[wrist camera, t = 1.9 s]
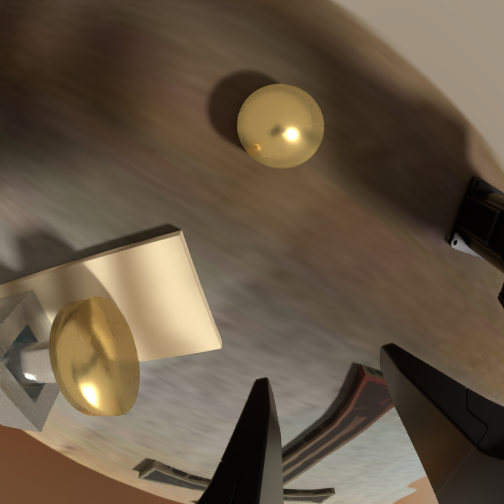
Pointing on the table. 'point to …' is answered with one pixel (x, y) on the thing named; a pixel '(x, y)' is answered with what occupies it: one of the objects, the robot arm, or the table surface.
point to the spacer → (280, 126)
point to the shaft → (84, 358)
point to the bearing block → (3, 383)
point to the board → (136, 294)
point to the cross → (307, 440)
